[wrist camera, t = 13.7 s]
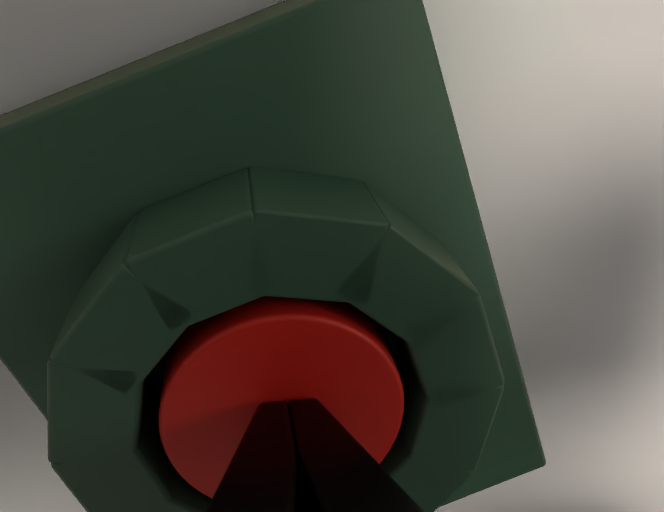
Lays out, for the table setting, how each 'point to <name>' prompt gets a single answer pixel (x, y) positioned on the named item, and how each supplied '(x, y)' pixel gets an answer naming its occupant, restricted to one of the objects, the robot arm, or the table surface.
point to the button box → (255, 242)
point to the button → (274, 379)
